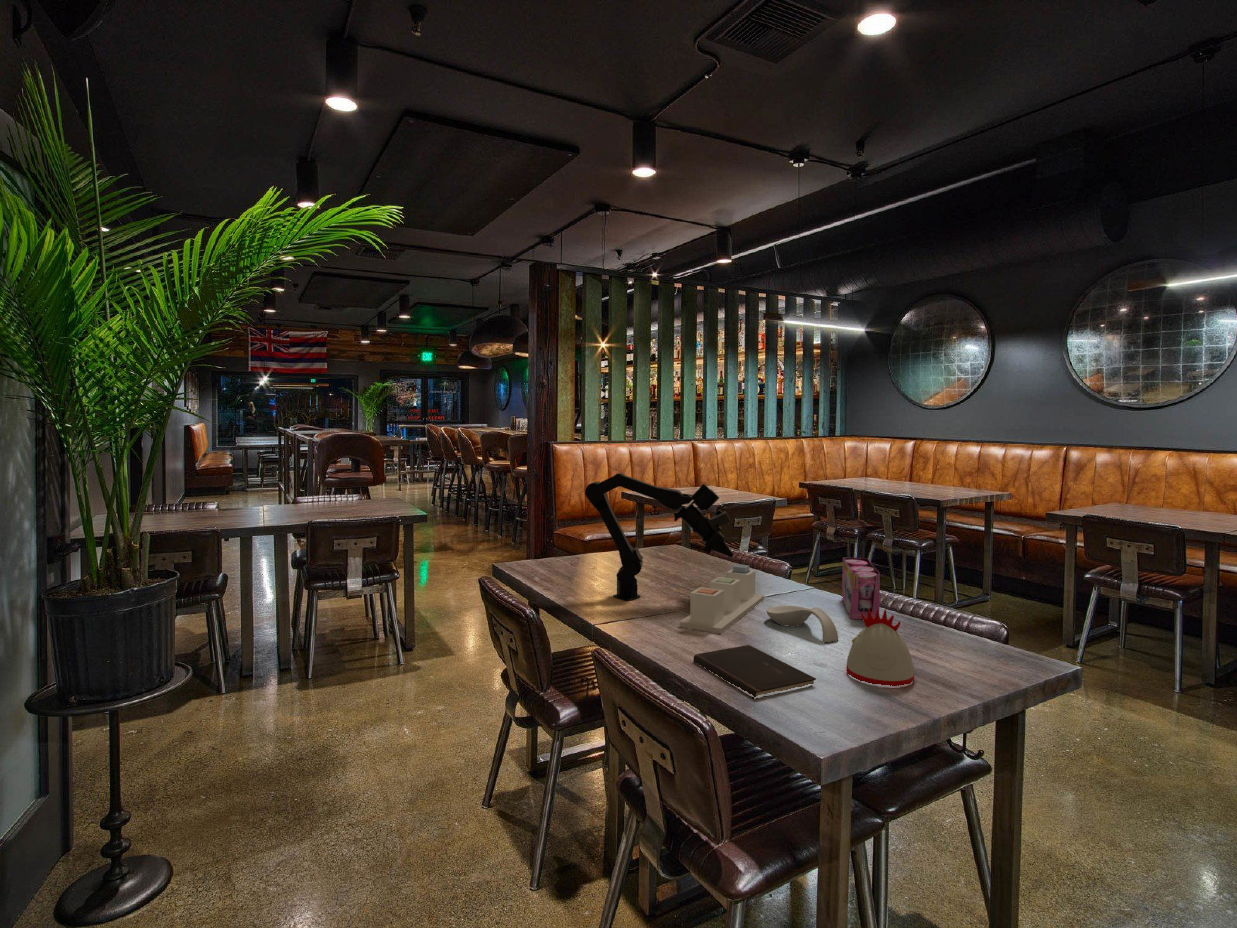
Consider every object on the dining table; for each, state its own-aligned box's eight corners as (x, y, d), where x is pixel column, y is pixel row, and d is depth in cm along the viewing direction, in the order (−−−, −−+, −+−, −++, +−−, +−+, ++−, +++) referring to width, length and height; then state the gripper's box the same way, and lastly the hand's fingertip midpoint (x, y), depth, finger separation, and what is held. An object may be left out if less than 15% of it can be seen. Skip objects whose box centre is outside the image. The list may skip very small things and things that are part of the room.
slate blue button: (732, 579, 200) (732, 566, 200) (736, 576, 203) (737, 564, 203) (745, 580, 198) (745, 567, 198) (749, 578, 201) (749, 565, 201)
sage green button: (716, 594, 188) (716, 580, 188) (721, 591, 191) (721, 577, 191) (729, 595, 186) (729, 582, 186) (733, 592, 189) (734, 579, 189)
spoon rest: (757, 620, 183) (758, 595, 182) (791, 615, 187) (791, 591, 187) (814, 646, 161) (814, 618, 161) (850, 640, 166) (851, 613, 165)
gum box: (880, 623, 180) (882, 575, 179) (851, 621, 181) (852, 573, 181) (867, 600, 203) (868, 557, 202) (841, 598, 205) (842, 556, 204)
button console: (679, 626, 175) (679, 592, 175) (727, 595, 208) (728, 566, 208) (721, 634, 169) (721, 598, 169) (764, 600, 202) (764, 570, 202)
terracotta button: (697, 605, 176) (697, 591, 175) (703, 602, 179) (703, 588, 179) (711, 607, 174) (711, 593, 173) (716, 604, 177) (716, 589, 177)
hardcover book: (748, 653, 157) (749, 644, 157) (815, 688, 136) (816, 678, 136) (693, 664, 150) (693, 654, 150) (755, 702, 129) (755, 691, 129)
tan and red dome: (847, 660, 151) (849, 597, 150) (912, 669, 146) (914, 604, 145) (845, 682, 138) (847, 614, 137) (915, 692, 133) (918, 621, 132)
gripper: (715, 506, 191) (753, 543, 190) (714, 499, 209) (748, 533, 209) (689, 532, 192) (727, 569, 192) (689, 523, 211) (724, 556, 210)
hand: (732, 556), depth 200 cm, fingers closed
